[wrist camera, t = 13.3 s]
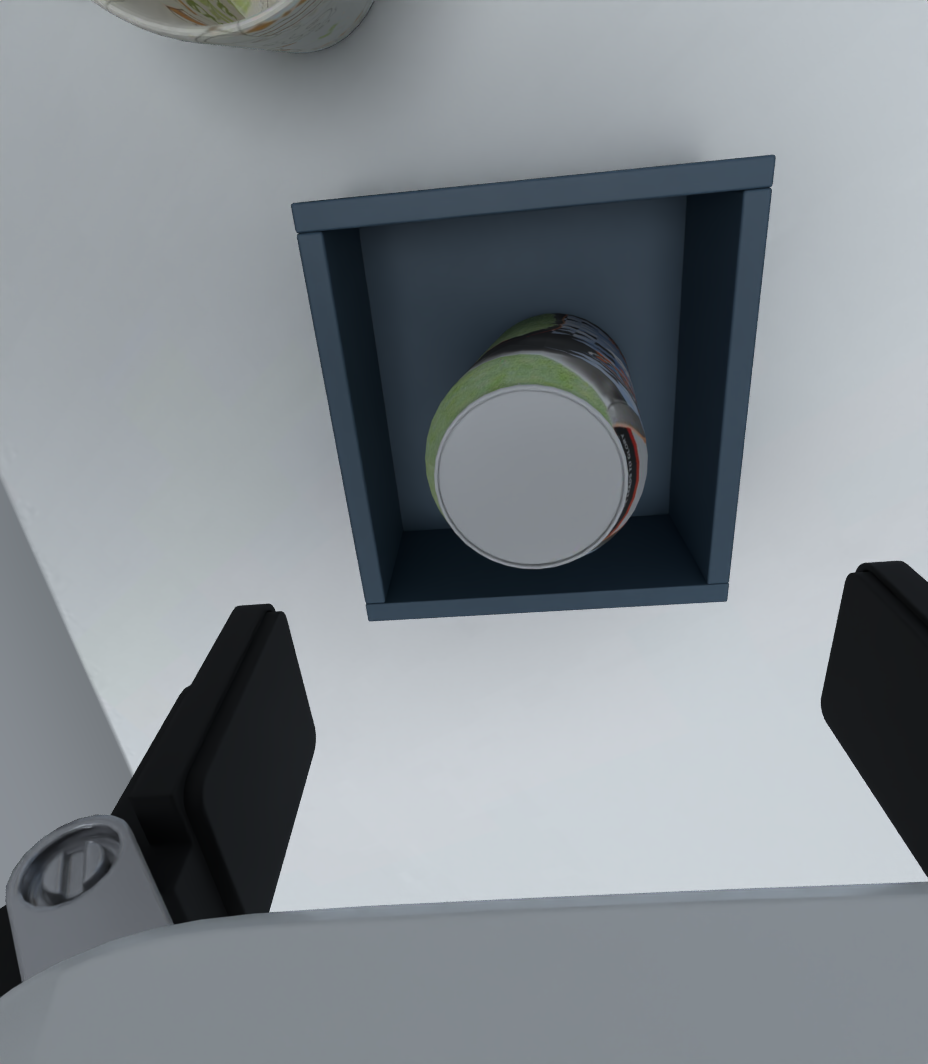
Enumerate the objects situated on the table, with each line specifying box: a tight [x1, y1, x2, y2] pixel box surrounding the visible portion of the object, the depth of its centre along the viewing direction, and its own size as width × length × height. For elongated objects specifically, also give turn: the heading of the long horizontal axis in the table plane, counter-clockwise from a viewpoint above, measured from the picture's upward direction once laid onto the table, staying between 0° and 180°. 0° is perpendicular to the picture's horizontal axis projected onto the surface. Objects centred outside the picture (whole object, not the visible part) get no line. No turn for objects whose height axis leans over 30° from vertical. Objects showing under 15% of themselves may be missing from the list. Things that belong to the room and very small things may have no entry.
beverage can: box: [425, 313, 648, 569], centre depth 22 cm, size 6×7×12 cm
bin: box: [291, 155, 775, 621], centre depth 25 cm, size 15×14×7 cm
